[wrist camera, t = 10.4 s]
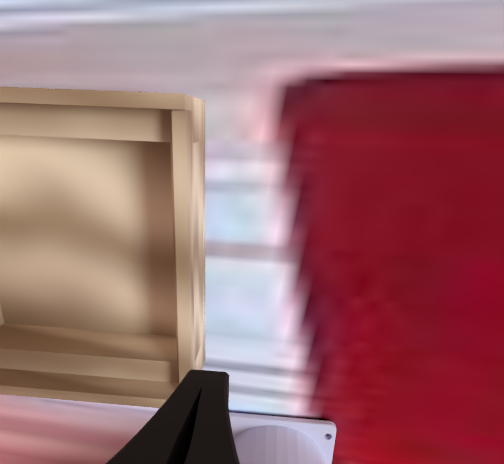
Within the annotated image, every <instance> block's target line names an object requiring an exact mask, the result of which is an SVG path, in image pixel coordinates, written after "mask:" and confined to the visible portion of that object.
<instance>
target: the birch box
mask: <svg viewBox="0 0 504 464" xmlns="http://www.w3.org/2000/svg"><path fill="white" fill-rule="evenodd" d="M204 361H205V100H202V99H198V98H195V97H192V96H189V95H186V94H176V93H150V92H123V91H97V90H71V89H45V88H18V87H0V394H5V395H16V396H28V397H39V398H51V399H62V400H74V401H85V402H97V403H108V404H120V405H131V406H143V407H154V408H161V406H162V405H163V404H164V403H165V402H166V400H167V399H168V398H169V397H170V395H171V394H172V393H173V392H174V390H175V389H176V388H177V386H178V385H179V384H180V382H181V381H182V380H183V378H184V377H185V375H186V374H187V372H188V371H190V370H191V369H193V370H202V368H203V364H204Z"/></svg>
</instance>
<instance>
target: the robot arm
mask: <svg viewBox="0 0 504 464" xmlns="http://www.w3.org/2000/svg"><path fill="white" fill-rule="evenodd" d="M228 396H229V375H228V374H227V373H226V372H218V371H206V370H193V369H191V370H190V371H188V372H187V374H186V375H185V377H184V378H183V380H182V381H181V382H180V384H179V385H178V386H177V388H176V389H175V390H174V392H173V393H172V394H171V395H170V397H169V398H168V399H167V400H166V402H165V403H164V404H163V405H162V406H161V408H160V409H159V410H158V411H157V412H156V414H155V415H154V416H153V417H152V418H151V419H150V420H149V421H148V422H147V423H146V425H145V426H144V427H143V428H142V429H141V430H140V431H139V432H138V433H137V434H136V435H135V436H134V437H133V438H132V439H131V440H130V441H129V442H128V443H127V444H126V445H125V446H124V447H123V448H122V449H121V450H120V451H119V452H118V453H117V454H116V455H115V456H114V457H113V458H111V459H110V460H109V461H108V462H107V463H106V464H332V457H333V450H334V443H335V436H336V426H335V424H334V423H333V422H331V421H323V420H312V419H300V418H289V417H277V416H266V415H254V414H243V413H231V412H229V409H228ZM326 434H329V435H326Z"/></svg>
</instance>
